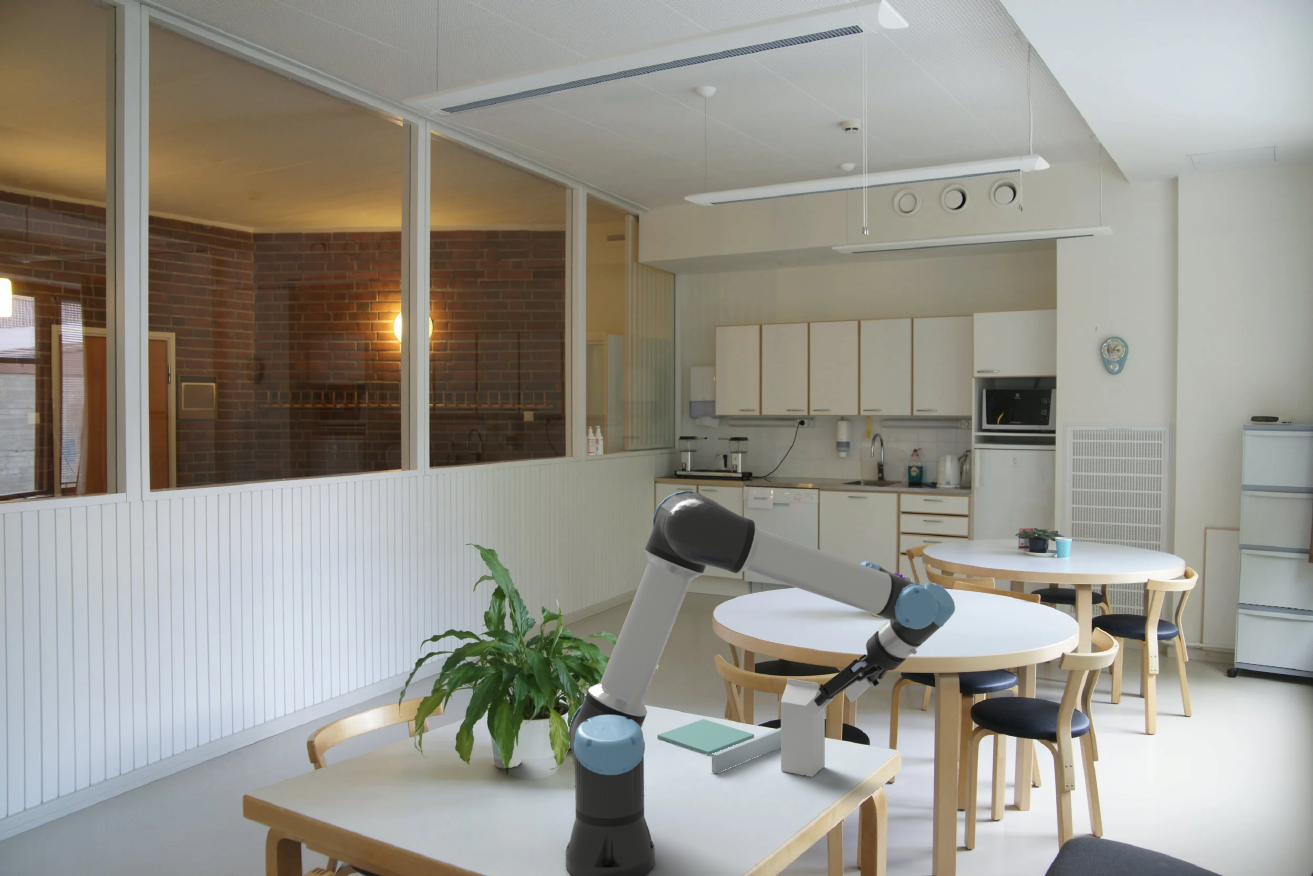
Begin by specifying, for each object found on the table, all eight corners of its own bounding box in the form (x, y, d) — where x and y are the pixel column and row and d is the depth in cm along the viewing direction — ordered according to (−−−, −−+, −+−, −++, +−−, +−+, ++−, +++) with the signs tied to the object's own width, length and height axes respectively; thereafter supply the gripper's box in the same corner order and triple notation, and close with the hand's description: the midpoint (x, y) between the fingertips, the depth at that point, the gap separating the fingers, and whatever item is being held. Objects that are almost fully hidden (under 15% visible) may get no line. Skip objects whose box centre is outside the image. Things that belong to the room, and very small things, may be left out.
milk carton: (812, 778, 198) (811, 687, 197) (780, 771, 201) (780, 682, 201) (825, 767, 204) (824, 679, 203) (794, 761, 207) (793, 674, 207)
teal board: (708, 755, 211) (708, 751, 211) (657, 738, 222) (657, 735, 222) (754, 737, 222) (754, 734, 222) (703, 722, 234) (703, 719, 234)
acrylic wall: (716, 774, 200) (716, 755, 200) (711, 772, 201) (711, 754, 201) (796, 741, 220) (796, 724, 220) (792, 740, 221) (792, 723, 220)
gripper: (868, 672, 176) (804, 734, 188) (937, 648, 194) (874, 705, 205) (844, 639, 180) (782, 701, 191) (913, 618, 198) (853, 676, 209)
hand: (829, 704), depth 198 cm, fingers open, 13 cm apart
